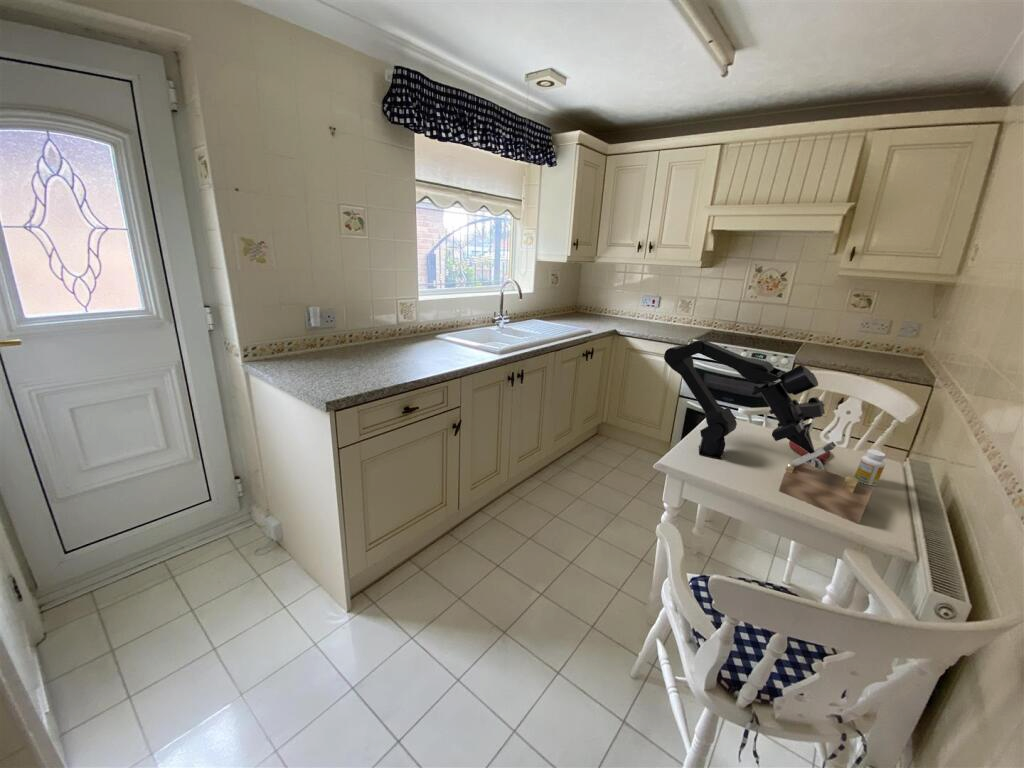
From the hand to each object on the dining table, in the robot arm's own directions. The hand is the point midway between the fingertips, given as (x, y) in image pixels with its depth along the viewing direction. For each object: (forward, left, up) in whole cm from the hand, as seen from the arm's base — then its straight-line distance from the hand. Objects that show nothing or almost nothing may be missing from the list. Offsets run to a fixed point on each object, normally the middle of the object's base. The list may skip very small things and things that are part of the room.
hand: (812, 452), depth 114 cm
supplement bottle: (+20, +15, -12) cm, 27 cm away
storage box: (+5, -2, -12) cm, 13 cm away
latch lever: (0, 0, -2) cm, 2 cm away
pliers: (+7, +24, -13) cm, 28 cm away
